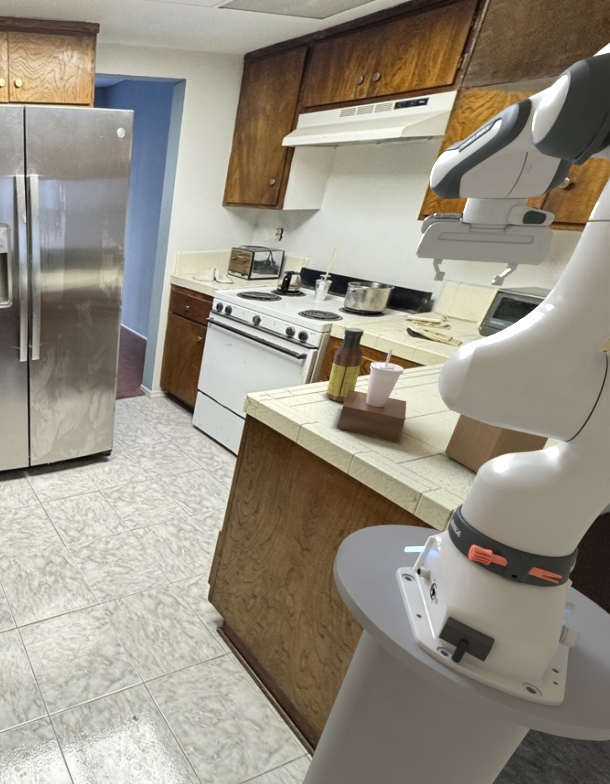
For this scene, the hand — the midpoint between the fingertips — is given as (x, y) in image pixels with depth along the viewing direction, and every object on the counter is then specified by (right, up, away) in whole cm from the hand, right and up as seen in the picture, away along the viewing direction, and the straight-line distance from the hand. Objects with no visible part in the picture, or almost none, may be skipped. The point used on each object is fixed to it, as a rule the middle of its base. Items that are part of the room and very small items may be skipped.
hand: (466, 282), depth 100 cm
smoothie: (-10, -26, +13) cm, 31 cm away
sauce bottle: (-7, -25, +30) cm, 40 cm away
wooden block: (+3, -39, -1) cm, 39 cm away
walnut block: (-10, -32, +16) cm, 37 cm away
